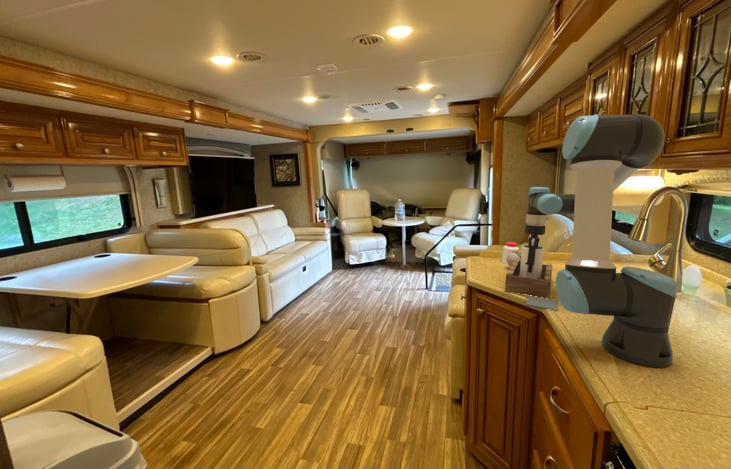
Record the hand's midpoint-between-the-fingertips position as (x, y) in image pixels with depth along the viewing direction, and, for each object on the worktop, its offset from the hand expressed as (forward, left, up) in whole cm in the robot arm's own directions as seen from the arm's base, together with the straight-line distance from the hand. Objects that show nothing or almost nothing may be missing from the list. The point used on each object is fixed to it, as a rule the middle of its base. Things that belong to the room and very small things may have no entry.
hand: (529, 276), depth 142 cm
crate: (0, 0, -4) cm, 4 cm away
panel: (-19, -6, -4) cm, 20 cm away
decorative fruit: (+22, +8, -4) cm, 24 cm away
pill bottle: (+34, +12, -4) cm, 37 cm away
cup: (0, 0, -3) cm, 3 cm away
